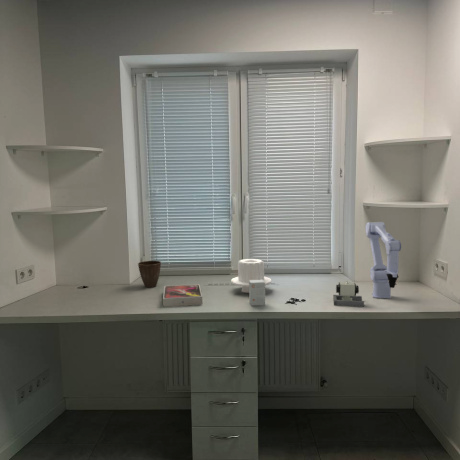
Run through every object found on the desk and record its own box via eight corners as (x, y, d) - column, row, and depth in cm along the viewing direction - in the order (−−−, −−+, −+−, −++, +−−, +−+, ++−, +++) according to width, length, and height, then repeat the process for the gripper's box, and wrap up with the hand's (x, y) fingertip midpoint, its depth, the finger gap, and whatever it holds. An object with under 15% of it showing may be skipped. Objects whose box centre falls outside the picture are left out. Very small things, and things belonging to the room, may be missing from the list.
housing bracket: (361, 300, 218) (361, 296, 217) (363, 306, 206) (364, 302, 206) (333, 298, 221) (333, 294, 221) (333, 305, 209) (334, 300, 209)
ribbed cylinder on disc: (226, 294, 234) (225, 263, 232) (237, 284, 258) (237, 256, 255) (266, 297, 226) (266, 265, 224) (274, 286, 250) (274, 258, 248)
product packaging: (199, 292, 242) (199, 284, 242) (202, 305, 215) (202, 296, 214) (164, 293, 240) (164, 285, 239) (163, 307, 212) (162, 298, 211)
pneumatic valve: (358, 304, 210) (358, 283, 209) (336, 303, 212) (336, 282, 211) (357, 301, 215) (357, 280, 214) (335, 300, 218) (335, 279, 216)
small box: (263, 301, 218) (263, 279, 216) (265, 305, 211) (265, 282, 210) (249, 302, 217) (248, 279, 215) (250, 305, 210) (250, 282, 209)
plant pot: (135, 288, 250) (134, 264, 249) (144, 283, 265) (143, 260, 263) (157, 289, 248) (156, 265, 246) (165, 283, 262) (164, 260, 261)
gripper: (382, 260, 215) (382, 283, 216) (387, 265, 201) (386, 290, 202) (396, 260, 213) (395, 284, 215) (401, 265, 199) (400, 291, 201)
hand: (391, 287), depth 208 cm, fingers closed
